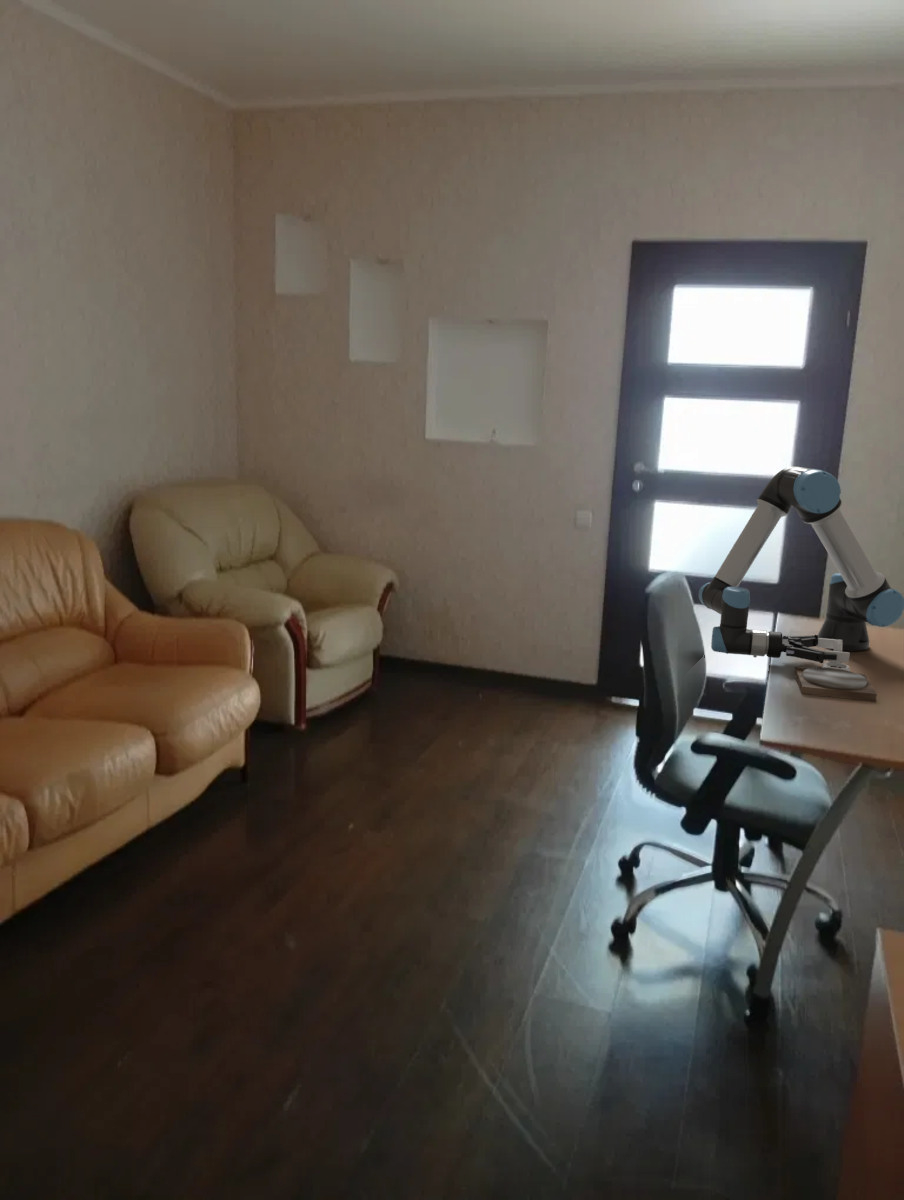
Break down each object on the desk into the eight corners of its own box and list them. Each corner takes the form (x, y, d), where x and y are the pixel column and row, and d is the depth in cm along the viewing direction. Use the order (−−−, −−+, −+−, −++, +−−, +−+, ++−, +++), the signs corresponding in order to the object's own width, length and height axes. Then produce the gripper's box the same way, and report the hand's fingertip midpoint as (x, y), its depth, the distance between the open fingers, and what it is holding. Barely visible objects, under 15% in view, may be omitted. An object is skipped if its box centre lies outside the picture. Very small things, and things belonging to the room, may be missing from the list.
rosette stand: (794, 673, 253) (795, 663, 253) (863, 680, 249) (864, 670, 248) (801, 693, 236) (802, 682, 236) (875, 701, 232) (877, 690, 231)
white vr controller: (825, 659, 250) (820, 640, 254) (824, 685, 258) (818, 666, 263) (854, 656, 248) (848, 636, 253) (852, 682, 256) (846, 663, 261)
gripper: (762, 645, 274) (837, 651, 268) (768, 668, 250) (850, 676, 245) (765, 621, 272) (840, 627, 267) (771, 642, 249) (854, 650, 243)
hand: (845, 651), depth 256 cm, fingers open, 13 cm apart
